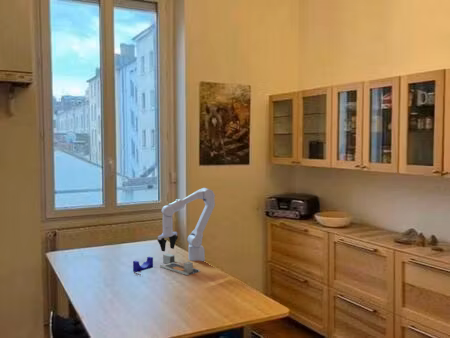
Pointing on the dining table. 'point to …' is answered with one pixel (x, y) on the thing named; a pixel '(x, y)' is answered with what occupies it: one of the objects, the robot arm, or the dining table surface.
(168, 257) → the pale grey block
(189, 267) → the small hollow grey box
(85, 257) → the dining table surface
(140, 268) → the cable clip
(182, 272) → the rail
